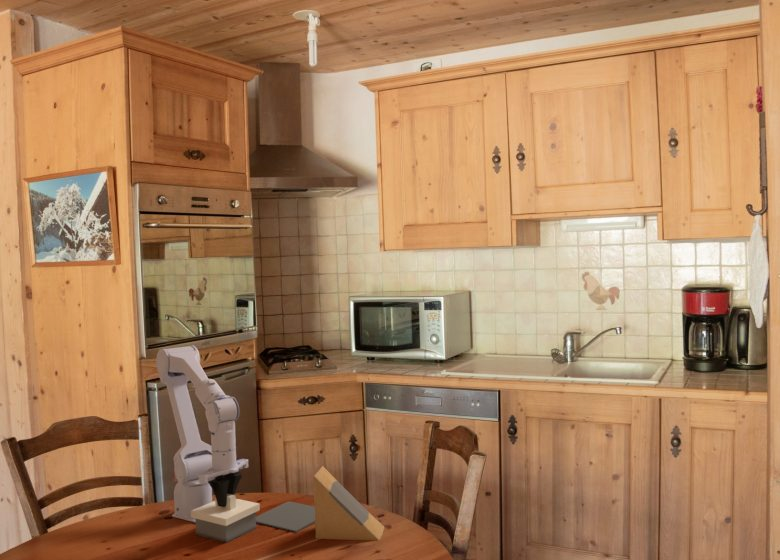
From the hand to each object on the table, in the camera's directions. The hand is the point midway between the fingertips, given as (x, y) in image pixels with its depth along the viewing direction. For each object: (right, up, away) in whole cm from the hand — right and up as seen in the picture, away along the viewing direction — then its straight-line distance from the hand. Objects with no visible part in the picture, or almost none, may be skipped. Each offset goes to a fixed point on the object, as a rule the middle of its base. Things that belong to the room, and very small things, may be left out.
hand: (225, 504), depth 170 cm
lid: (0, -2, 0) cm, 2 cm away
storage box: (0, -7, 0) cm, 6 cm away
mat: (+15, -6, +9) cm, 18 cm away
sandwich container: (+30, -6, -2) cm, 31 cm away
